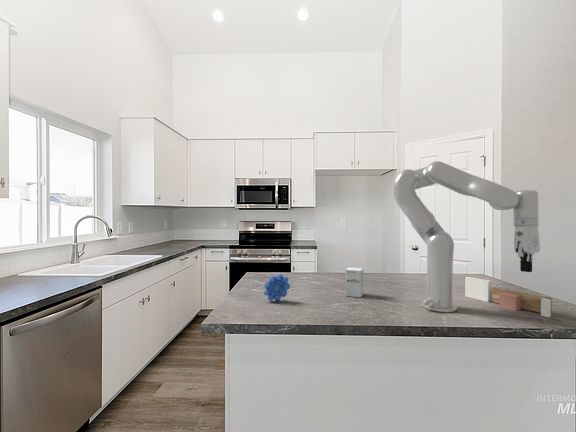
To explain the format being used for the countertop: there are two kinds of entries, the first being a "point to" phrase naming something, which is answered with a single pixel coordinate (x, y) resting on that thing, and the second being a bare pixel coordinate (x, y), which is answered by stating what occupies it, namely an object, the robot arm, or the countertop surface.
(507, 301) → the block
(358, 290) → the supplement box
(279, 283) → the grapes
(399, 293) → the countertop surface
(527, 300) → the door
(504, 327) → the countertop surface
